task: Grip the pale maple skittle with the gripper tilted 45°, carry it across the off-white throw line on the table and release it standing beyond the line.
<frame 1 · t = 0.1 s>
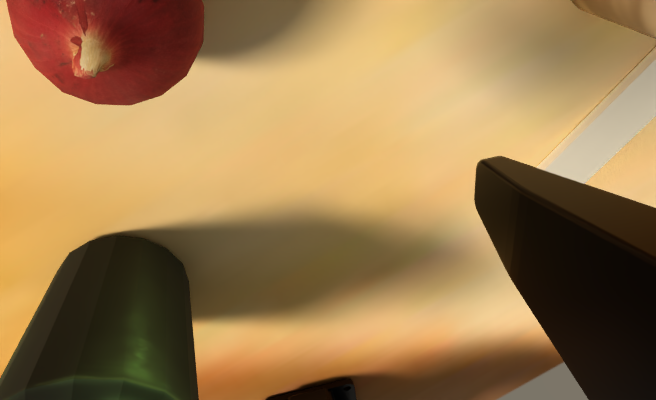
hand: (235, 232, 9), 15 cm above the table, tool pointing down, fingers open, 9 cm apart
potion bottle: (126, 278, 27), on the table
throw line: (616, 114, 27), on the table
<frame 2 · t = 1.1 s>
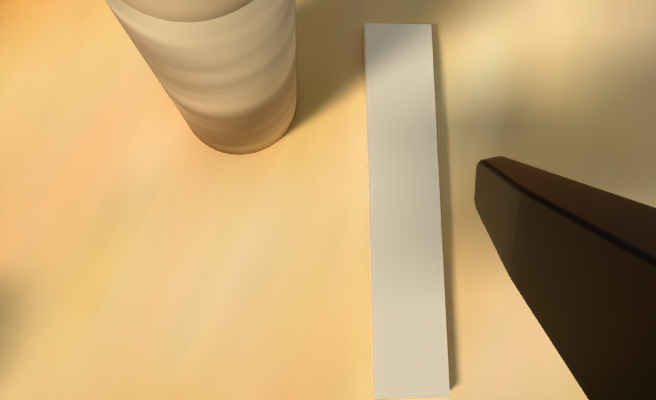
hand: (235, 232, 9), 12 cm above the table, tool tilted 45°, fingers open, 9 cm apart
skittle: (240, 99, 22), on the table
throw line: (402, 200, 22), on the table
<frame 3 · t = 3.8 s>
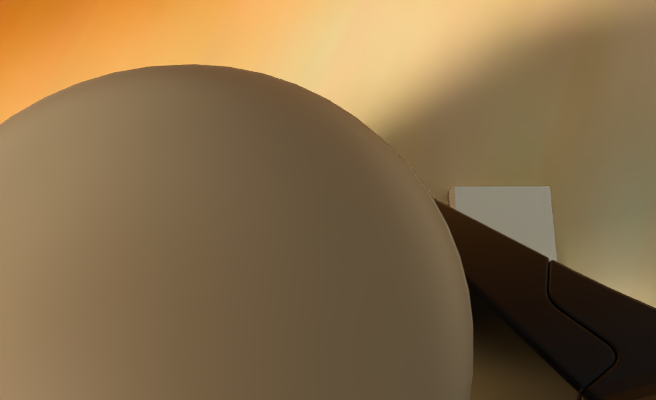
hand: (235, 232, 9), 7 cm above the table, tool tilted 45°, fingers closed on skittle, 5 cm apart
skittle: (271, 304, 15), on the table, touching gripper
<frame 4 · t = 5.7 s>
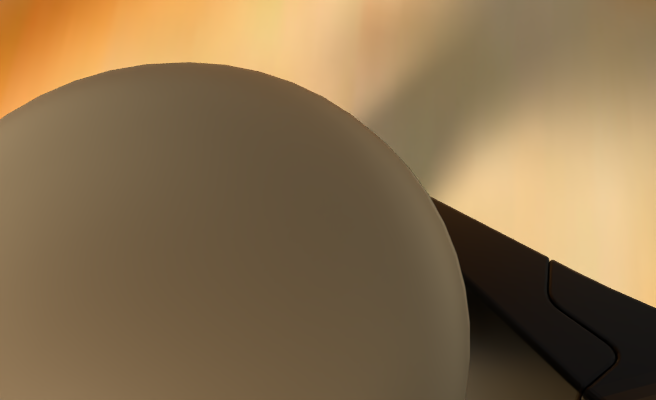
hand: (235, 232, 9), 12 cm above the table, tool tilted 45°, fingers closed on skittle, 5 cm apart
skittle: (270, 303, 15), point 6 cm above the table, touching gripper
when the fingers open (8 cm above the table, at t = 7.9 s): skittle drops 1 cm, on the table.
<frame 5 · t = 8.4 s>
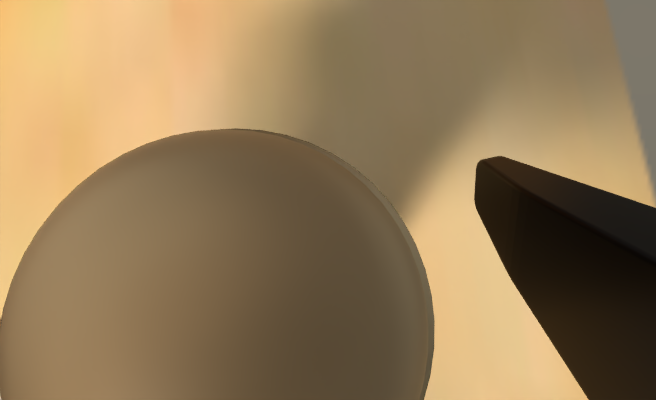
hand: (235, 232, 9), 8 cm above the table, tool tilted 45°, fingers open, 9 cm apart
skittle: (274, 304, 16), on the table
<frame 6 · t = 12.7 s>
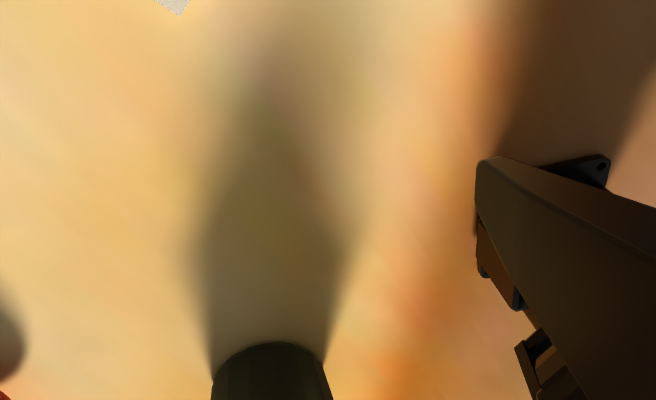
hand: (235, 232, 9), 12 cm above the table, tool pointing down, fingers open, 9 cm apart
potion bottle: (268, 374, 30), on the table
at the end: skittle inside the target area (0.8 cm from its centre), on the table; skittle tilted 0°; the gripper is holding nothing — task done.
